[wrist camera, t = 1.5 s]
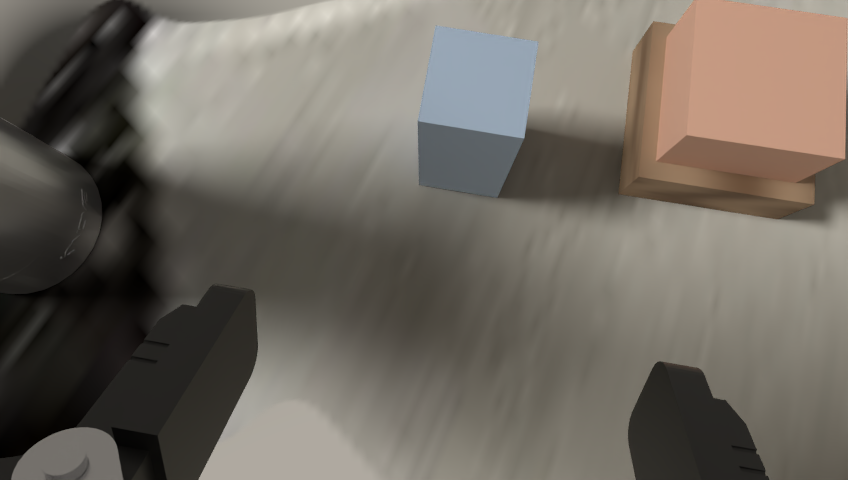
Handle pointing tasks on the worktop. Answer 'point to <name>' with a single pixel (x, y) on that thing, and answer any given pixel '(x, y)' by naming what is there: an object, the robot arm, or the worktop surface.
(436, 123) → the slate blue block
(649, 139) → the walnut base block
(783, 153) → the terracotta top block
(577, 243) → the worktop surface
